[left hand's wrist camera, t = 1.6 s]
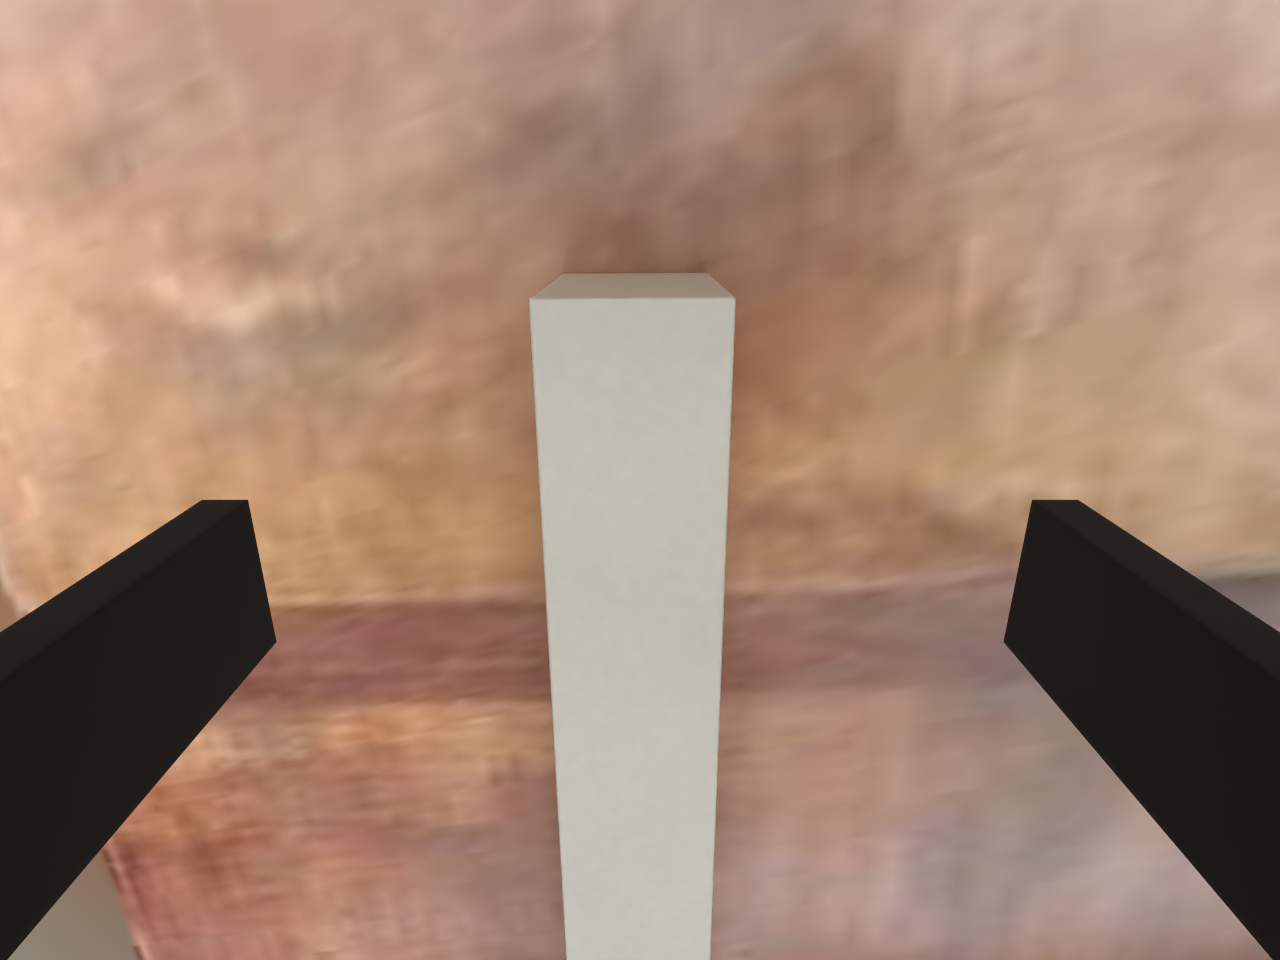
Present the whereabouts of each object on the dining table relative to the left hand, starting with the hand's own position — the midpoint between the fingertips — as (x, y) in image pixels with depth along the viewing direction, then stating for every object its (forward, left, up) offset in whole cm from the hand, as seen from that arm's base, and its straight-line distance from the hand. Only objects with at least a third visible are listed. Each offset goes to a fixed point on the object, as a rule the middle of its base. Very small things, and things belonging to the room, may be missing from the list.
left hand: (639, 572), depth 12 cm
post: (-34, +7, -15) cm, 37 cm away
